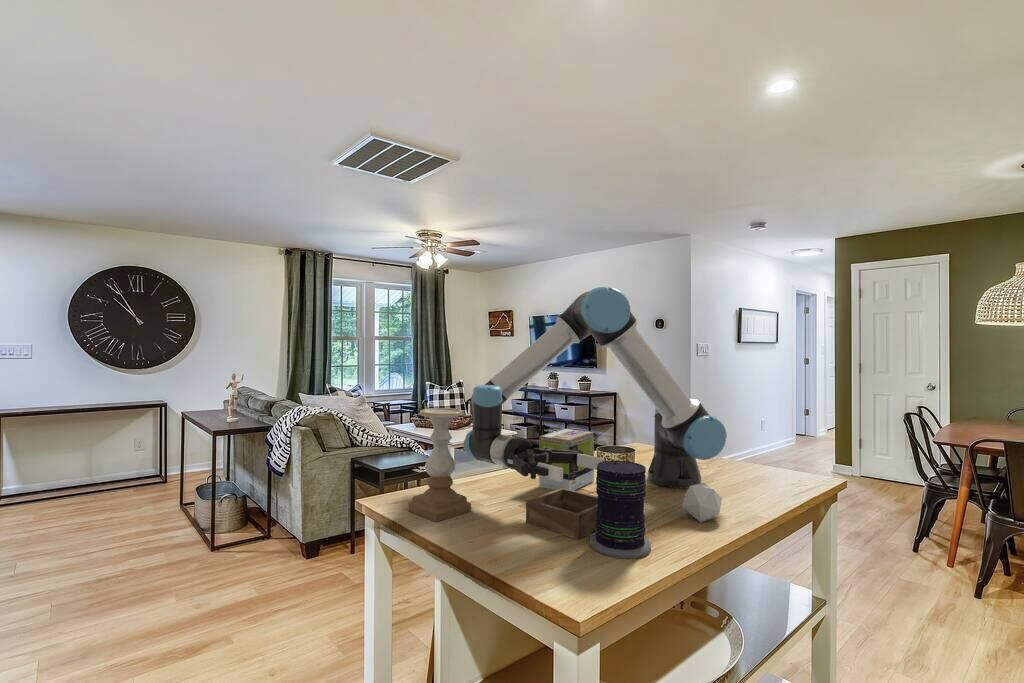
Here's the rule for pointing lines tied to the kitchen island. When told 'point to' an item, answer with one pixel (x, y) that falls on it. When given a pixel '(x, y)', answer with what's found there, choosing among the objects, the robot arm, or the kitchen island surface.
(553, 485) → the tea box
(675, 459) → the robot arm
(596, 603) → the kitchen island surface
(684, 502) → the die
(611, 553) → the rubber pad
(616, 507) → the dark blue cylinder
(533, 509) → the walnut open box
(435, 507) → the candle holder
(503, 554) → the kitchen island surface
